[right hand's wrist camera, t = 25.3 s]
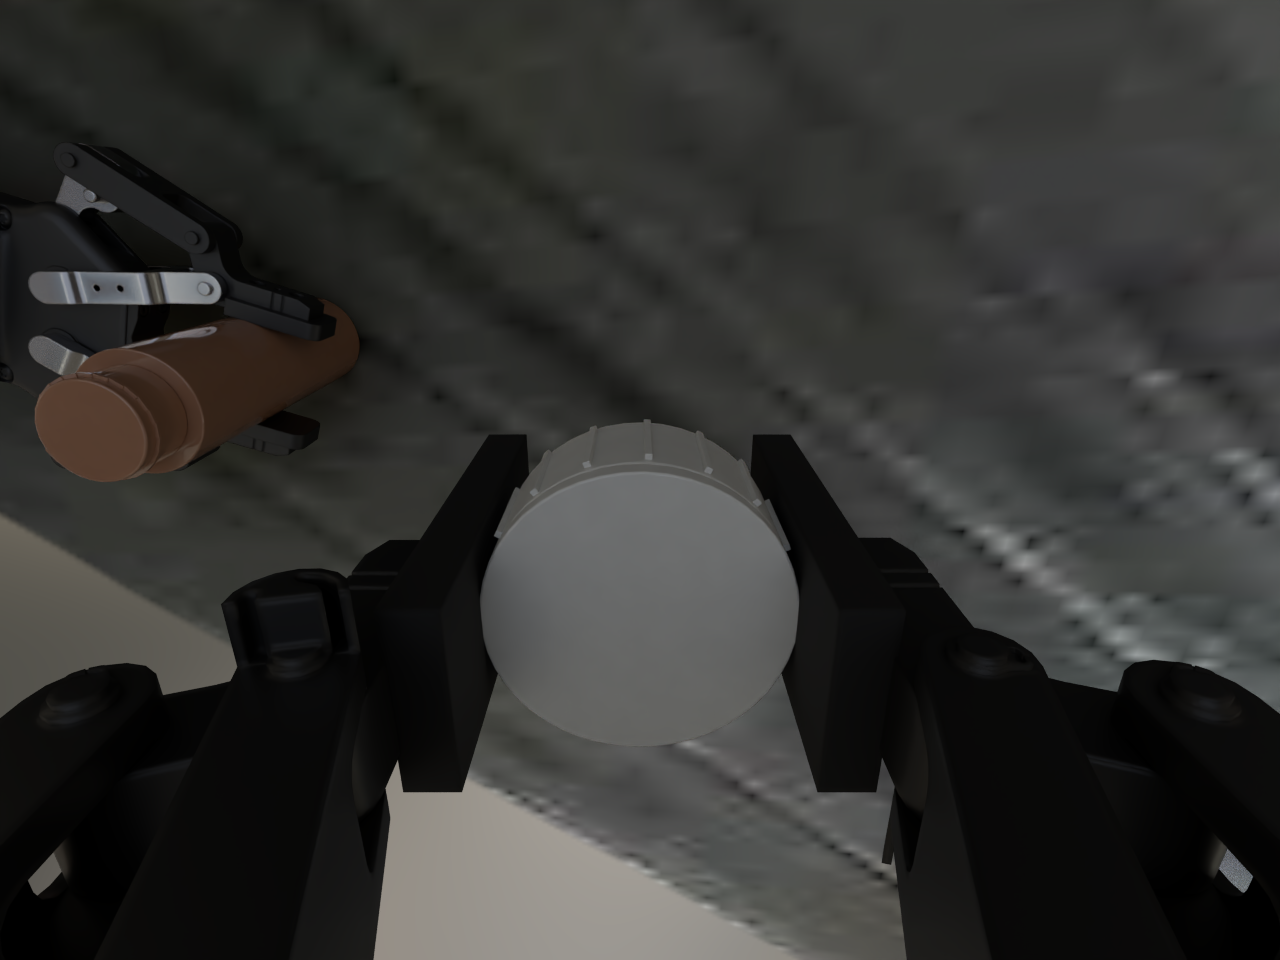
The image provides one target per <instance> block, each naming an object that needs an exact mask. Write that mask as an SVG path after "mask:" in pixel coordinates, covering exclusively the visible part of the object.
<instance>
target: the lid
mask: <svg viewBox="0 0 1280 960" xmlns="http://www.w3.org/2000/svg"><path fill="white" fill-rule="evenodd" d="M494 536H495V537H497V538H499V539H498V541H497V543H496V546H495V548H494V551H493V553H492V555H491V558H490V560H489V562H488V565H487V568H486V571H485V575H484V578H483V581H482V587H481V593H480V607H481V619H482V628H483V638H484V643H485V646H486V649H487V652H488V655H489V657H490V659H491V661H492V663H493V665H494V668H495V669H496V671H497V672H498V674H499V676H500V677H501V679H502V680H503V682H504V683H505V685H506V686H507V687H508V688H509V689H510V690H511V692H512V693H513V694H514V695H515V696H516V697H517V698H518V699H519V700H520V701H521V702H522V703H523V704H524V705H525V706H526V707H528V708H529V709H530V710H531V711H532V712H534V713H535V714H537V715H538V716H539V717H541V718H542V719H544V720H545V721H547V722H549V723H551V724H552V725H554V726H556V727H558V728H560V729H561V730H564V731H566V732H569V733H571V734H574V735H576V736H578V737H582V738H585V739H589V740H592V741H595V742H600V743H605V744H611V745H617V746H631V747H647V746H660V745H668V744H675V743H679V742H683V741H687V740H691V739H694V738H697V737H700V736H703V735H705V734H708V733H711V732H713V731H715V730H717V729H719V728H721V727H723V726H725V725H727V724H729V723H730V722H732V721H733V720H735V719H737V718H738V717H740V716H741V715H743V714H744V713H745V712H746V711H748V710H749V709H750V708H751V707H753V706H754V705H755V704H756V703H757V702H758V701H759V700H760V699H761V698H762V697H763V696H764V695H765V694H766V693H767V692H768V691H769V690H770V689H771V687H772V686H773V684H774V683H775V682H776V680H777V679H778V678H779V676H780V675H781V673H782V671H783V669H784V667H785V666H786V664H787V662H788V660H789V658H790V655H791V652H792V650H793V647H794V644H795V640H796V631H797V621H798V611H799V588H798V584H797V580H796V576H795V572H794V569H793V566H792V564H791V562H790V559H789V557H788V555H787V552H786V551H789V550H791V547H790V545H789V542H788V540H787V538H786V536H785V533H784V531H783V529H782V527H781V524H780V522H779V520H778V518H777V516H776V513H775V511H774V509H773V507H772V504H771V502H770V500H769V499H768V500H765V501H764V499H763V497H762V494H761V492H760V490H759V489H758V487H757V485H756V484H755V482H754V480H753V479H752V477H751V476H750V473H749V471H748V469H747V466H746V464H745V462H744V461H743V460H742V459H740V460H739V461H737V460H736V459H735V458H733V457H732V456H731V455H730V454H729V453H728V452H726V451H725V450H724V449H722V448H721V447H719V446H718V445H716V444H715V443H713V442H711V441H710V440H708V439H706V438H704V435H703V433H702V432H700V431H697V432H696V434H695V433H692V432H690V431H687V430H684V429H681V428H677V427H673V426H668V425H664V424H654V423H651V420H648V419H644V423H623V424H617V425H611V426H605V427H602V428H599V429H597V426H593V427H590V430H589V432H586V433H584V434H582V435H580V436H577V437H575V438H573V439H571V440H569V441H568V442H566V443H565V444H563V445H561V446H560V447H558V448H556V449H555V450H554V451H553V452H551V451H550V450H547V451H546V452H545V453H544V455H543V458H542V460H541V462H540V463H539V464H538V465H537V466H536V468H535V469H534V470H533V471H532V472H531V473H530V475H529V476H528V478H527V479H526V480H525V482H524V483H523V485H522V486H521V488H520V489H519V488H517V487H516V488H515V489H514V491H513V493H512V496H511V498H510V500H509V503H508V505H507V507H506V509H505V512H504V514H503V516H502V519H501V521H500V523H499V526H498V528H497V530H496V532H495V535H494Z"/></svg>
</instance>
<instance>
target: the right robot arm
mask: <svg viewBox="0 0 1280 960" xmlns="http://www.w3.org/2000/svg"><path fill="white" fill-rule="evenodd" d="M528 476H529V467H528V452H527V436H526V435H489V436H488V437H487V439H486V440H485V442H484V443H483V445H482V446H481V448H480V449H479V451H478V452H477V454H476V455H475V457H474V458H473V460H472V461H471V463H470V465H469V466H468V468H467V469H466V471H465V472H464V474H463V475H462V477H461V478H460V480H459V481H458V483H457V484H456V486H455V487H454V489H453V490H452V492H451V493H450V495H449V497H448V498H447V500H446V501H445V503H444V504H443V506H442V507H441V509H440V510H439V512H438V513H437V515H436V516H435V518H434V519H433V521H432V522H431V524H430V525H429V527H428V528H427V530H426V532H425V533H424V535H423V536H422V538H421V539H420V540H389V541H387V542H386V543H384V544H382V545H381V546H379V547H377V548H376V549H374V550H373V551H371V552H369V553H368V554H366V555H365V556H364V557H363V559H362V560H361V561H360V562H359V564H358V565H357V566H356V567H355V569H354V570H353V571H352V576H348V578H345V577H344V576H342V575H341V574H340V573H338V572H335V571H330V570H325V569H296V570H291V571H285V572H280V573H275V574H272V575H269V576H266V577H263V578H261V579H258V580H255V581H252V582H250V583H249V584H247V585H245V586H243V587H242V588H240V589H238V590H236V591H234V592H233V593H232V594H231V595H230V596H229V597H228V598H227V599H226V600H225V601H224V602H223V603H222V604H221V606H222V610H223V614H224V617H225V621H226V625H227V629H228V633H229V637H230V641H231V644H232V648H233V652H234V656H235V660H236V664H237V669H236V671H235V673H234V675H233V677H232V679H231V681H229V682H225V683H221V684H218V685H213V686H208V687H203V688H198V689H192V690H188V691H182V692H177V693H172V694H167V695H163V694H162V691H161V688H160V684H159V681H158V678H157V675H156V673H154V672H153V671H152V670H151V669H149V668H148V667H147V666H143V665H136V664H129V663H123V664H113V665H101V666H96V667H91V668H89V669H88V670H85V669H83V670H80V671H77V672H74V673H71V674H69V675H67V676H66V677H65V678H62V679H60V680H58V681H55V682H53V683H51V684H49V685H46V686H44V687H43V688H41V689H40V690H38V691H37V692H35V693H34V694H32V695H30V696H29V697H27V698H26V699H24V700H23V701H21V702H20V703H19V704H17V705H16V706H15V707H14V708H13V709H11V710H10V711H9V712H7V713H6V714H5V715H4V716H2V717H1V718H0V960H373V958H374V950H375V942H376V934H377V925H378V917H379V908H380V900H381V892H382V883H383V875H384V867H385V858H386V850H387V842H388V833H389V825H390V813H389V806H388V800H387V794H386V789H385V788H386V786H387V783H388V781H389V779H390V776H391V774H392V772H393V770H394V767H395V765H396V763H397V760H398V763H399V769H400V775H401V781H402V787H403V792H462V790H463V787H464V784H465V780H466V777H467V774H468V770H469V767H470V764H471V761H472V757H473V754H474V751H475V747H476V744H477V741H478V737H479V734H480V731H481V728H482V724H483V721H484V718H485V714H486V711H487V708H488V704H489V701H490V698H491V694H492V691H493V688H494V685H495V681H496V678H497V675H498V672H497V671H496V669H495V668H494V665H493V663H492V661H491V659H490V657H489V655H488V652H487V649H486V646H485V643H484V638H483V628H482V619H481V607H480V593H481V587H482V581H483V578H484V575H485V571H486V568H487V565H488V562H489V560H490V558H491V555H492V553H493V551H494V548H495V546H496V543H497V541H498V539H499V538H497V537H495V536H494V535H495V532H496V530H497V528H498V526H499V523H500V521H501V519H502V516H503V514H504V512H505V509H506V507H507V505H508V503H509V500H510V498H511V496H512V493H513V491H514V489H515V488H516V487H517V488H519V489H520V488H521V486H522V485H523V483H524V482H525V480H526V479H527V478H528ZM751 477H752V479H753V480H754V482H755V484H756V485H757V487H758V489H759V490H760V492H761V494H762V497H763V499H764V501H765V500H768V499H769V500H770V502H771V504H772V507H773V509H774V511H775V513H776V516H777V518H778V520H779V522H780V524H781V527H782V529H783V531H784V533H785V536H786V538H787V540H788V542H789V545H790V547H791V550H789V551H786V552H787V555H788V557H789V559H790V562H791V564H792V566H793V569H794V572H795V576H796V580H797V584H798V588H799V611H798V621H797V631H796V640H795V644H794V647H793V650H792V652H791V655H790V658H789V660H788V662H787V664H786V666H785V667H784V669H783V671H782V676H783V679H784V683H785V686H786V689H787V693H788V696H789V699H790V703H791V706H792V709H793V712H794V716H795V719H796V722H797V726H798V729H799V732H800V736H801V739H802V742H803V745H804V749H805V752H806V755H807V759H808V762H809V765H810V769H811V772H812V775H813V779H814V782H815V785H816V788H817V792H876V790H877V784H878V778H879V772H880V766H881V760H882V758H883V760H884V762H885V765H886V767H887V769H888V772H889V774H890V776H891V778H892V781H893V783H894V785H895V789H894V794H893V800H892V806H891V811H890V817H889V822H888V828H887V834H886V839H885V845H884V851H883V858H882V863H885V864H890V865H891V862H892V857H893V852H894V857H895V865H896V873H897V882H898V890H899V898H900V907H901V915H902V923H903V932H904V940H905V948H906V957H907V960H1280V714H1279V713H1278V712H1277V711H1275V710H1274V709H1273V708H1271V707H1270V706H1269V705H1268V704H1266V703H1265V702H1264V701H1263V700H1261V699H1260V698H1259V697H1257V696H1256V695H1254V694H1252V693H1251V692H1249V691H1248V690H1246V689H1245V688H1243V687H1242V686H1240V685H1238V684H1237V683H1235V682H1233V681H1231V680H1228V679H1226V678H1224V677H1222V676H1219V675H1217V674H1215V673H1214V672H1212V671H1210V670H1208V669H1205V668H1201V667H1198V666H1195V667H1194V666H1192V665H1191V664H1186V663H1181V662H1170V661H1160V660H1149V661H1142V662H1135V663H1134V664H1132V665H1131V666H1130V667H1128V668H1127V669H1126V670H1124V673H1123V676H1122V679H1121V683H1120V686H1119V689H1118V692H1114V691H1109V690H1104V689H1098V688H1093V687H1088V686H1083V685H1078V684H1073V683H1067V682H1063V681H1059V680H1055V679H1051V678H1048V676H1047V674H1046V672H1045V670H1044V668H1043V666H1042V665H1041V663H1040V662H1039V661H1038V660H1037V658H1036V657H1035V656H1034V655H1033V654H1032V652H1030V651H1029V650H1027V649H1026V648H1024V647H1023V646H1021V645H1020V644H1018V643H1017V642H1015V641H1014V640H1011V639H1009V638H1006V637H1004V636H1001V635H999V634H997V633H994V632H992V631H987V630H982V629H978V628H974V627H973V626H972V625H971V623H970V622H969V621H968V620H967V618H966V617H965V616H964V614H963V613H962V612H961V611H960V609H959V608H958V607H957V606H956V604H955V603H954V602H953V601H952V599H951V598H950V597H949V595H948V594H947V593H946V592H945V590H944V589H943V588H940V587H939V583H938V582H937V580H936V579H935V578H934V577H933V575H932V574H931V573H928V569H927V568H926V566H925V565H924V564H923V563H922V561H921V560H920V559H919V558H918V556H917V555H916V554H915V553H914V552H913V551H911V550H910V549H908V548H906V547H905V546H903V545H901V544H900V543H898V542H896V541H895V540H893V539H891V538H858V537H857V535H856V534H855V532H854V531H853V529H852V528H851V526H850V525H849V523H848V522H847V520H846V519H845V517H844V516H843V514H842V512H841V511H840V509H839V508H838V506H837V505H836V503H835V502H834V500H833V499H832V497H831V496H830V494H829V493H828V491H827V490H826V488H825V487H824V485H823V484H822V482H821V480H820V479H819V477H818V476H817V474H816V473H815V471H814V470H813V468H812V467H811V465H810V464H809V462H808V461H807V459H806V458H805V456H804V455H803V453H802V452H801V450H800V448H799V447H798V445H797V444H796V442H795V441H794V439H793V438H792V436H791V435H753V445H752V460H751ZM1227 848H1228V850H1229V851H1230V852H1231V853H1232V854H1233V855H1234V856H1235V857H1236V858H1237V859H1238V860H1239V862H1240V863H1241V864H1242V865H1243V866H1244V867H1245V868H1246V869H1247V870H1248V871H1249V872H1250V873H1251V875H1252V876H1253V878H1252V881H1251V883H1250V885H1249V887H1248V889H1247V890H1246V891H1245V892H1244V893H1243V892H1241V891H1240V890H1239V889H1238V888H1236V887H1235V886H1234V885H1233V884H1232V883H1231V882H1230V881H1229V880H1228V879H1227V878H1226V877H1225V875H1224V874H1223V873H1222V872H1221V871H1220V870H1219V867H1220V865H1221V862H1222V860H1223V858H1224V855H1225V853H1226V851H1227ZM53 852H54V854H55V857H56V859H57V861H58V864H59V866H60V868H61V871H62V872H61V873H60V874H59V876H58V877H57V878H56V879H55V880H54V881H53V883H52V884H51V885H50V886H49V887H47V888H46V889H45V890H44V891H43V892H41V893H40V894H39V895H38V896H37V895H36V894H35V893H33V891H32V889H31V886H30V884H29V882H28V879H29V878H30V877H31V876H32V875H33V874H34V873H35V872H36V871H37V870H38V869H39V867H40V866H41V865H42V864H43V863H44V862H45V861H46V860H47V859H48V858H49V856H50V855H51V854H52V853H53Z"/></svg>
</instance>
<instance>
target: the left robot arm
mask: <svg viewBox="0 0 1280 960" xmlns="http://www.w3.org/2000/svg"><path fill="white" fill-rule="evenodd" d="M53 158H54V162H55V164H56V166H57V167H58V169H59V170H60V171H61V172H62V173H63V174H65V177H64V180H63V182H62V185H61V188H60V191H59V194H58V196H57V199H56V202H41V203H34V202H31V201H28V200H24V199H21V198H18V197H15V196H12V195H8V194H5V193H2V192H0V381H2V382H7V383H12V384H15V385H17V386H19V387H21V388H23V389H24V390H26V391H27V392H29V393H30V394H31V395H33V396H34V397H35V398H36V399H38V398H39V394H41V393H42V391H43V390H44V389H45V387H46V386H47V385H48V384H49V383H51V382H52V381H54V380H56V379H57V378H59V377H61V376H64V375H68V374H73V373H76V371H77V370H78V368H79V367H80V365H81V364H82V363H83V362H84V361H85V360H86V359H88V358H89V357H90V356H92V355H94V354H96V353H98V352H100V351H103V350H107V349H110V348H114V347H118V346H122V345H125V344H129V343H133V342H137V341H141V340H144V339H148V338H152V337H156V336H159V335H163V334H164V331H163V328H164V325H165V322H166V320H167V317H168V315H169V310H170V304H215V305H219V306H222V307H224V315H227V316H230V317H233V318H236V319H240V320H243V321H247V322H250V323H253V324H256V325H259V326H263V327H266V328H269V329H272V330H276V331H279V332H282V333H285V334H289V335H292V336H295V337H298V338H302V339H305V340H309V341H322V340H325V339H327V338H329V337H332V336H334V335H335V329H336V323H337V319H336V318H335V317H333V316H330V315H327V314H324V313H323V312H324V305H325V304H324V303H322V302H321V301H320V300H318V299H317V298H316V297H314V296H312V295H309V294H306V293H302V292H298V291H296V290H293V289H289V288H286V287H283V286H280V285H277V284H274V283H270V282H267V281H264V280H261V279H258V278H255V277H253V276H252V275H250V274H249V273H248V272H247V271H246V270H245V268H244V267H243V265H242V262H241V259H240V255H239V251H238V248H239V247H240V246H241V245H242V241H243V236H242V233H241V231H240V229H239V228H238V226H237V225H235V224H234V223H233V222H231V221H230V220H228V219H226V218H225V217H223V216H222V215H220V214H219V213H217V212H216V211H214V210H213V209H211V208H209V207H208V206H206V205H205V204H203V203H202V202H200V201H199V200H197V199H196V198H194V197H192V196H191V195H189V194H188V193H186V192H185V191H183V190H182V189H180V188H179V187H177V186H175V185H174V184H172V183H171V182H169V181H168V180H166V179H165V178H163V177H162V176H160V175H158V174H157V173H155V172H154V171H152V170H151V169H149V168H148V167H146V166H144V165H143V164H141V163H140V162H138V161H137V160H135V159H134V158H132V157H131V156H129V155H127V154H126V153H124V152H123V151H121V150H119V149H117V148H112V147H103V146H99V145H90V144H81V143H79V144H77V143H69V142H63V143H60V144H58V145H57V146H56V147H55V149H54V152H53ZM99 210H100V211H102V212H106V213H123V212H125V213H127V214H128V215H130V216H131V217H133V218H135V219H136V220H138V221H139V222H141V223H143V224H144V225H146V226H147V227H149V228H151V229H152V230H154V231H155V232H157V233H159V234H160V235H162V236H163V237H165V238H166V239H168V240H170V241H171V242H173V243H174V244H176V245H178V246H179V247H181V248H182V249H184V250H186V251H187V252H189V256H190V260H191V263H192V266H167V265H145V263H144V262H143V261H142V260H141V259H140V258H139V257H138V256H137V255H136V254H135V253H134V252H133V251H132V250H131V249H130V248H129V247H128V246H127V245H126V243H125V242H124V241H123V240H122V239H121V238H120V237H119V236H118V235H117V234H116V233H115V232H114V231H113V230H112V229H111V228H110V227H109V226H108V225H107V223H106V222H105V221H104V220H103V219H102V218H101V217H100V216H99V215H98V214H97V212H98V211H99ZM319 428H320V423H319V422H318V421H316V420H313V419H310V418H307V417H303V416H300V415H296V414H293V413H290V412H286V411H283V410H282V411H280V412H278V413H277V414H275V415H273V416H271V417H270V418H268V419H266V420H264V421H263V422H261V423H259V424H257V425H255V426H254V427H252V428H250V429H248V430H247V431H245V432H243V433H241V434H240V435H238V436H236V437H234V438H232V439H231V440H229V441H227V442H230V443H234V444H237V445H241V446H244V447H248V448H251V449H255V450H258V451H263V452H265V453H268V454H272V455H275V456H281V455H289V454H291V453H292V452H294V451H295V450H300V449H304V448H306V447H307V446H308V445H310V444H311V443H313V442H314V441H315V440H317V439H318V434H319ZM219 448H220V446H218V447H217V448H215V449H213V450H211V451H209V452H208V453H206V454H204V455H202V456H201V457H199V458H197V459H195V460H194V461H192V462H190V463H188V464H186V465H185V466H183V467H181V468H179V469H177V470H174V471H181V470H184V469H186V468H187V467H189V466H191V465H193V464H194V463H196V462H198V461H200V460H201V459H203V458H205V457H207V456H208V455H210V454H212V453H214V452H215V451H217V450H218V449H219ZM50 456H51V455H50ZM51 458H52V460H53V461H54V463H55V464H57V465H58V466H59V467H61V468H64V469H66V468H65V467H63V466H62V465H61V464H60V463H58V462H56V461H55V460H54V458H53V457H52V456H51Z"/></svg>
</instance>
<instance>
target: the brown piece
mask: <svg viewBox="0 0 1280 960" xmlns="http://www.w3.org/2000/svg"><path fill="white" fill-rule="evenodd" d="M317 299H318V300H320V301H321V302H322V303H324V304H325V305H324V312H323V313H324V314H327V315H330V316H333V317H335V318H336V319H337V323H336V329H335V335H334V336H332V337H329V338H327V339H325V340H322V341H309V340H305V339H302V338H298V337H295V336H292V335H289V334H285V333H282V332H279V331H276V330H272V329H269V328H266V327H263V326H259V325H256V324H253V323H250V322H247V321H243V320H240V319H236V318H233V317H227V318H224V319H220V320H216V321H212V322H209V323H205V324H201V325H197V326H193V327H190V328H186V329H182V330H178V331H175V332H171V333H167V334H163V335H159V336H156V337H152V338H148V339H144V340H141V341H137V342H133V343H129V344H125V345H122V346H118V347H114V348H110V349H107V350H103V351H100V352H98V353H96V354H94V355H92V356H90V357H89V358H88V359H86V360H85V361H84V362H83V363H82V364H81V365H80V367H79V368H78V370H77V371H76V373H73V374H68V375H64V376H61V377H59V378H57V379H56V380H54V381H52V382H51V383H49V384H48V385H47V386H46V387H45V389H44V390H43V391H42V393H41V394H39V398H38V401H37V405H36V407H35V424H36V428H37V432H38V437H39V438H40V440H41V441H42V443H43V445H44V446H45V448H46V451H47V452H48V453H49V454H50V455H51V456H52V457H53V458H54V460H55V461H56V462H58V463H60V464H61V465H62V466H63V467H65V468H66V469H68V470H69V471H71V472H73V473H74V474H76V475H79V476H81V477H83V478H86V479H89V480H94V481H100V482H114V481H120V480H126V479H130V478H135V477H138V476H140V475H142V474H143V473H165V472H170V471H174V470H177V469H179V468H181V467H183V466H185V465H186V464H188V463H190V462H192V461H194V460H195V459H197V458H199V457H201V456H202V455H204V454H206V453H208V452H209V451H211V450H213V449H215V448H217V447H218V446H220V445H222V444H224V443H225V442H227V441H229V440H231V439H232V438H234V437H236V436H238V435H240V434H241V433H243V432H245V431H247V430H248V429H250V428H252V427H254V426H255V425H257V424H259V423H261V422H263V421H264V420H266V419H268V418H270V417H271V416H273V415H275V414H277V413H278V412H280V411H282V410H284V409H286V408H287V407H289V406H291V405H293V404H294V403H296V402H298V401H300V400H301V399H303V398H305V397H307V396H309V395H310V394H312V393H314V392H316V391H317V390H319V389H321V388H323V387H324V386H326V385H328V384H330V383H332V382H333V381H335V380H337V379H339V378H340V377H342V376H344V375H345V374H347V373H348V372H349V371H350V370H351V369H352V367H353V366H354V364H355V363H356V360H357V358H358V354H359V338H358V334H357V331H356V328H355V326H354V324H353V322H352V321H351V319H350V318H349V317H348V315H347V314H346V313H345V312H344V311H343V310H342V309H340V308H339V307H338V306H336V305H335V304H333V303H331V302H329V301H327V300H324V299H321V298H317Z"/></svg>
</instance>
